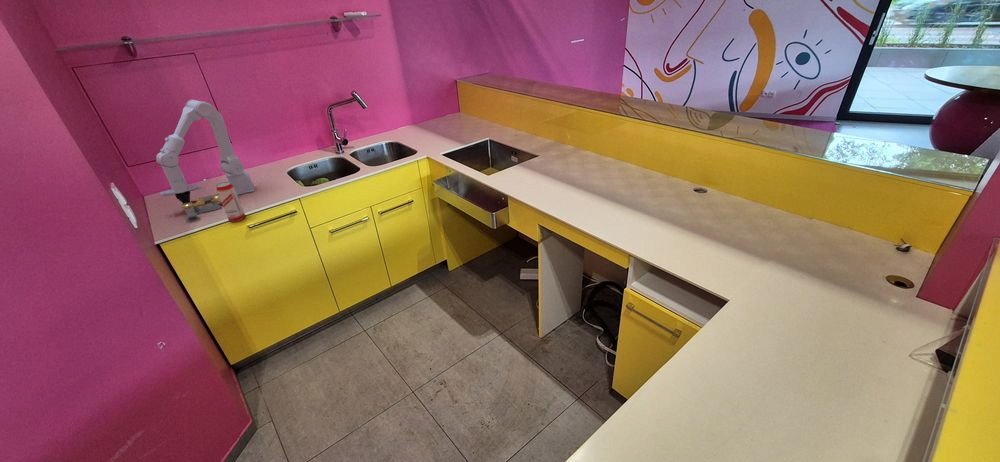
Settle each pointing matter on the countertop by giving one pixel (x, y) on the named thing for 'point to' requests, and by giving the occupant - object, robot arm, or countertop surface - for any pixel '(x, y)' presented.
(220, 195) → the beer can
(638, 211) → the countertop surface
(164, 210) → the countertop surface
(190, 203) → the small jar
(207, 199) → the fixed leaf
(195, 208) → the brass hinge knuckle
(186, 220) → the pad
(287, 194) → the countertop surface
